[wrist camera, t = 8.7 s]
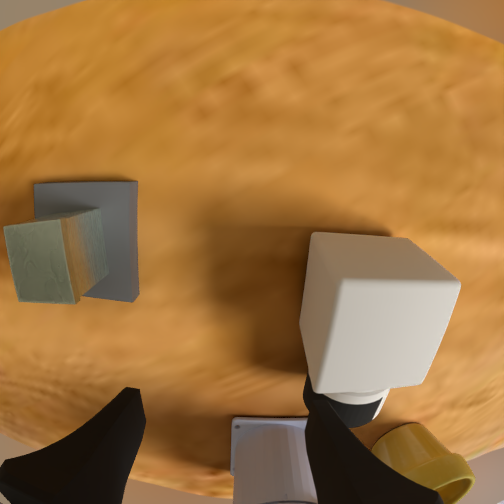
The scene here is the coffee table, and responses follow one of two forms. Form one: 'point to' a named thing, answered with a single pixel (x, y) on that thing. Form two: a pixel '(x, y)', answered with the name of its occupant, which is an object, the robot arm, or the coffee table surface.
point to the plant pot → (425, 461)
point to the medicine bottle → (370, 319)
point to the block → (113, 224)
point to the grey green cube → (57, 256)
